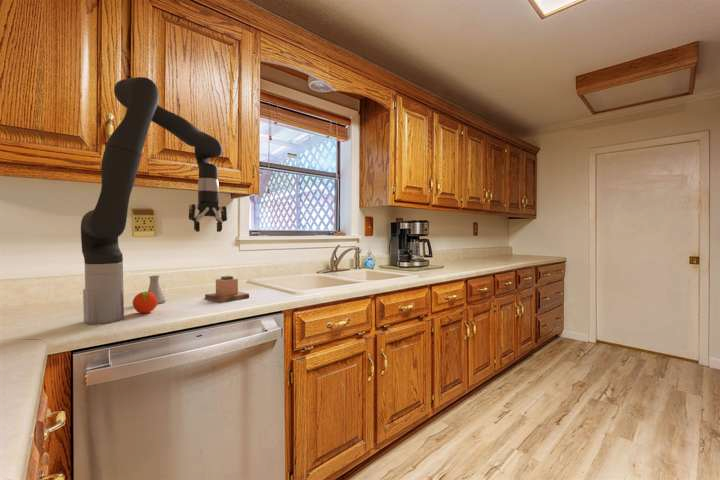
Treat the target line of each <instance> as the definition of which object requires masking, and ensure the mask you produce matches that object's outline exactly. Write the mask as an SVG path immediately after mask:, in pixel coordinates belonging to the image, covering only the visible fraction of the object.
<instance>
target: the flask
mask: <svg viewBox="0 0 720 480" xmlns="http://www.w3.org/2000/svg"><path fill="white" fill-rule="evenodd" d="M147 292H151V293H153V294H154V295H155V296H156V297H157V301H158V302H157V305H159V304H162V303H166V302H167V299H166V297H165V295H164V292H163V290H162V287H161V285H160V275H157V274H156V275H149V286H148V290H147Z"/></svg>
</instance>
